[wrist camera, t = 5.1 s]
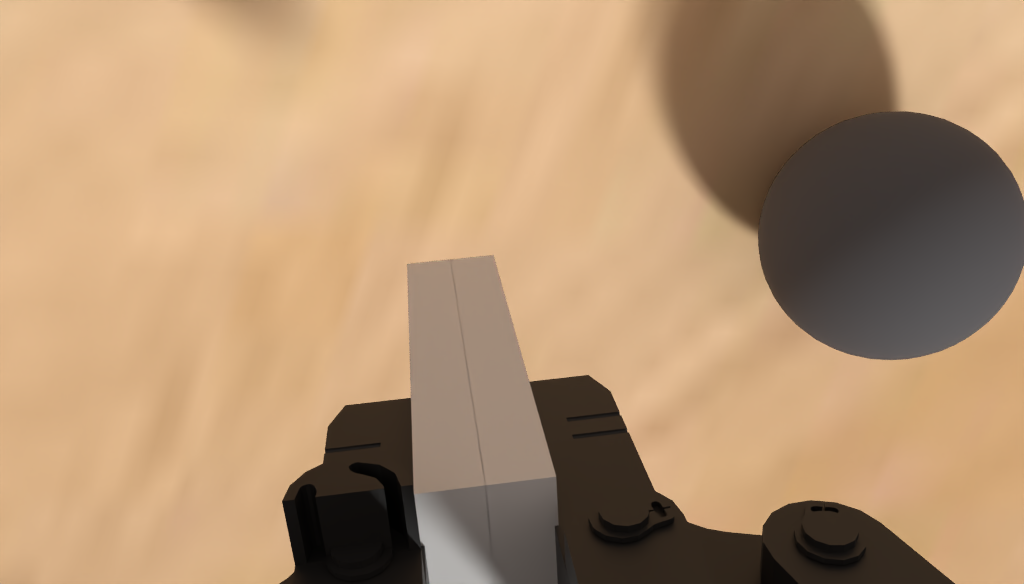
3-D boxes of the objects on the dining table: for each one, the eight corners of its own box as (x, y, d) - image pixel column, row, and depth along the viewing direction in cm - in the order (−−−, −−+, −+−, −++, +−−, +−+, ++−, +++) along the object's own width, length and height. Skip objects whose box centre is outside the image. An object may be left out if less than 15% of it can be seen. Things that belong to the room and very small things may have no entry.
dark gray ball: (720, 313, 23) (813, 420, 18) (727, 102, 21) (835, 156, 16) (919, 290, 23) (1064, 389, 18) (945, 81, 21) (1118, 129, 16)
